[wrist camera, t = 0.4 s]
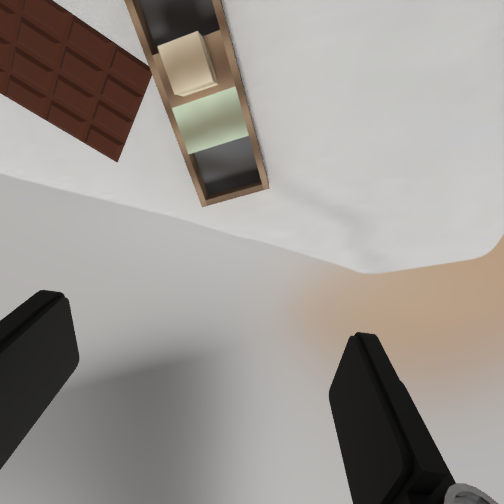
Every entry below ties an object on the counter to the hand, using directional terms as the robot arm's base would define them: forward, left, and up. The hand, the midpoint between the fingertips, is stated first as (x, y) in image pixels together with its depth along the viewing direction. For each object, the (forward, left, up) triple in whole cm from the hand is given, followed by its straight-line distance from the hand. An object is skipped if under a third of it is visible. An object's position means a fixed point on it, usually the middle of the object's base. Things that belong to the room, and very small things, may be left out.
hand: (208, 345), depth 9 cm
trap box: (-10, -3, -35) cm, 36 cm away
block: (-13, -3, -32) cm, 35 cm away
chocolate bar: (-21, -23, -35) cm, 47 cm away
